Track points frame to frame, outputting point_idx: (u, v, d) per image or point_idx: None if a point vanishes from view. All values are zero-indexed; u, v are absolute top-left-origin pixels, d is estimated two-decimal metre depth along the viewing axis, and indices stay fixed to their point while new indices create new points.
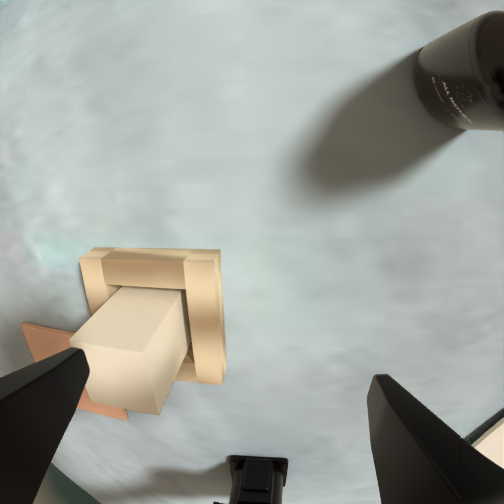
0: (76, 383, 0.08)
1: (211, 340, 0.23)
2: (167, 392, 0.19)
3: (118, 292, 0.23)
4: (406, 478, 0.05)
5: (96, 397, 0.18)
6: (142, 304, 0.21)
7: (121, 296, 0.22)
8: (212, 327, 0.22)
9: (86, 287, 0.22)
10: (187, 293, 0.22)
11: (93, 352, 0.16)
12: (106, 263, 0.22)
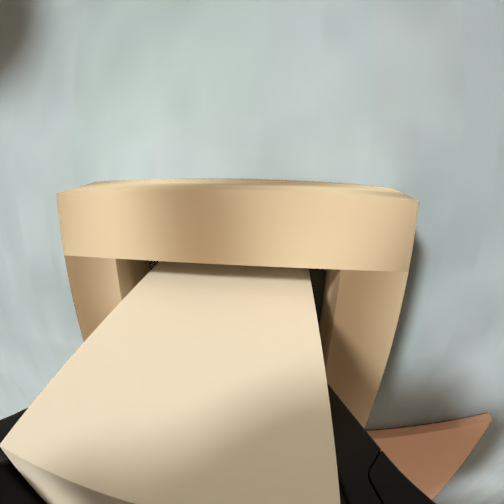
0: None
1: (253, 210, 0.08)
2: (313, 417, 0.04)
3: None
4: None
5: None
6: None
7: None
8: (209, 203, 0.08)
9: None
10: (124, 256, 0.09)
11: None
12: None
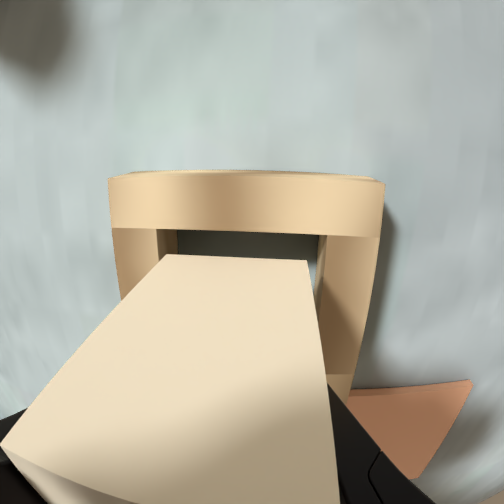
0: None
1: (263, 191, 0.11)
2: (313, 416, 0.05)
3: None
4: None
5: None
6: None
7: None
8: (231, 185, 0.11)
9: None
10: (163, 226, 0.12)
11: None
12: None
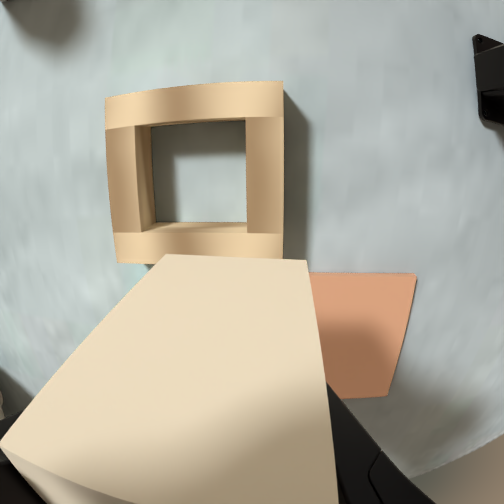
0: None
1: (201, 92, 0.16)
2: (312, 416, 0.04)
3: None
4: None
5: None
6: None
7: None
8: (181, 91, 0.16)
9: (150, 261, 0.19)
10: (139, 123, 0.17)
11: None
12: (116, 224, 0.19)
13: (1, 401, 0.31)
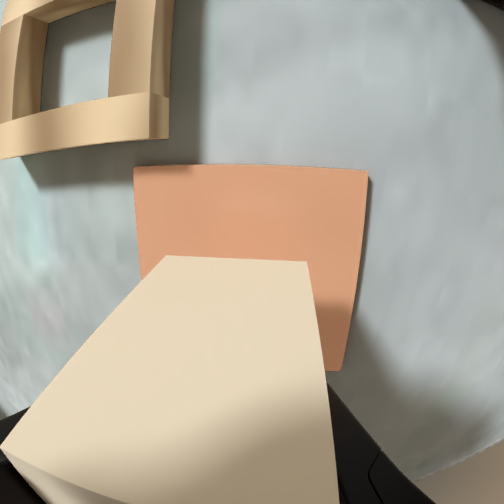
0: None
1: None
2: (313, 419, 0.04)
3: None
4: None
5: None
6: None
7: None
8: None
9: (16, 153, 0.13)
10: (27, 11, 0.10)
11: None
12: None
13: None
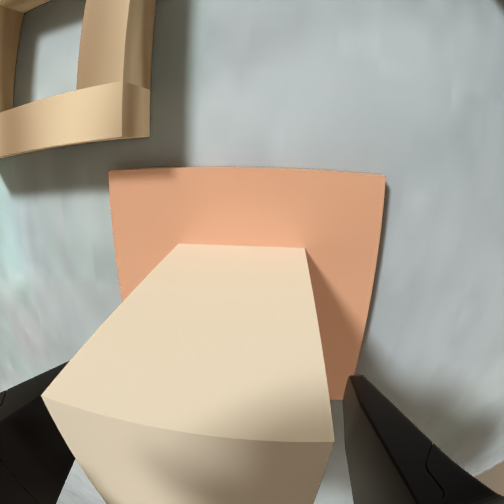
0: None
1: None
2: (309, 363, 0.06)
3: None
4: (375, 482, 0.05)
5: None
6: None
7: None
8: None
9: None
10: None
11: (116, 495, 0.05)
12: None
13: None
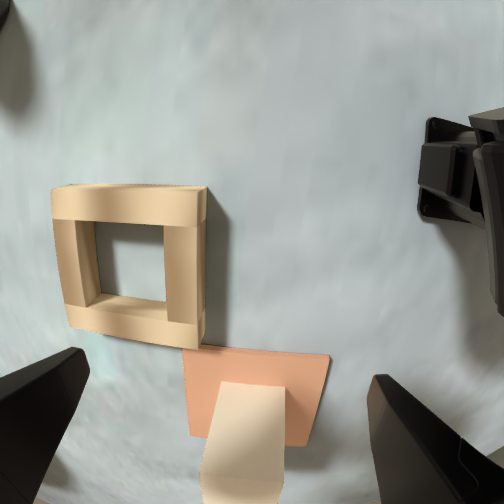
0: (76, 383, 0.08)
1: (126, 198, 0.18)
2: (279, 457, 0.17)
3: None
4: (406, 478, 0.05)
5: None
6: None
7: None
8: (110, 195, 0.18)
9: (94, 330, 0.21)
10: (78, 219, 0.19)
11: (210, 497, 0.17)
12: (67, 298, 0.21)
13: None
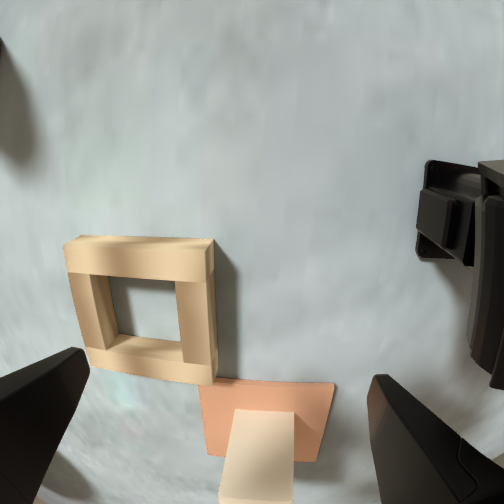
0: (76, 383, 0.08)
1: (137, 256, 0.19)
2: (289, 479, 0.18)
3: None
4: (406, 478, 0.05)
5: None
6: None
7: None
8: (121, 253, 0.19)
9: (115, 369, 0.23)
10: (92, 273, 0.20)
11: None
12: (87, 342, 0.22)
13: None
